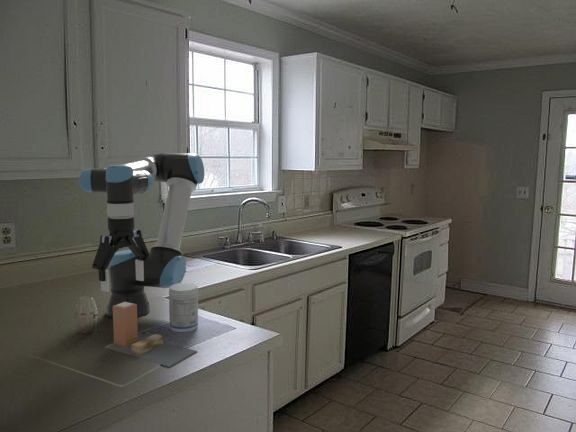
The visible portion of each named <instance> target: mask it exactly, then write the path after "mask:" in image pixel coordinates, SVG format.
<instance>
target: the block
mask: <svg viewBox="0 0 576 432" xmlns="http://www.w3.org/2000/svg"><path fill="white" fill-rule="evenodd" d="M112 324H113V326H112V327H113V329H112V330H113V343H114V344H118V345H121V346H125V347H126V346H128V345H131V344H133V343H135V342H137V341H138V335H139V333H138V332H139V331H138V317H137V304H134V303H129V302H123V303H120V304H117V305H114V306H113V318H112Z"/></svg>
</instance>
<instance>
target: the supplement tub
mask: <svg viewBox="0 0 576 432" xmlns="http://www.w3.org/2000/svg"><path fill="white" fill-rule="evenodd" d="M168 305H169V306H168V309H169V310H168V311H169V312H168V313H169V328H170V331H172V332H175V333H188V332H192V331H195V330H196V329H198V327H199V289H198V285H197V284H195V283H192V282H181V283H177V284H173V285H171V286H170V287H169V288H168Z"/></svg>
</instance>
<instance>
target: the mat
mask: <svg viewBox="0 0 576 432" xmlns="http://www.w3.org/2000/svg"><path fill="white" fill-rule="evenodd" d="M147 337H148V336H147ZM147 337H146V336H143V335H139V334H138V341H141V340H143V339H145V338H147ZM138 341H137V342H138ZM135 343H136V342H135ZM133 344H134V343H133ZM131 345H132V344H131ZM131 345H128V346H126V347H125V346H121V345H118V344H114V342H113V343H109V344H108V345H105V346H104V348H105V349H108V350H112V351H115V352H117V353H123V354H126V355H129V356H132V357H136V358H139V359H142V360H145V361H149V362H152V363H156V364H159V365H160V366H162V367H165V368H169V369H170V368H171V367H174V366H175V365H177V364H179V363H181V362H182V361H184V360H185V359H188V358H189V357H191V356H193V355H195V354H196V353H198V350H195V349H191V348H188V347H183V346H180V345H176V344H173V343H168V342H164V341H163V344H161V345H159V346H157V347H155V348H153V349H151V350H149V351H147V352H145V353H143V354H141V355H136V354H132V353H131Z"/></svg>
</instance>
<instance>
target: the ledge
mask: <svg viewBox="0 0 576 432" xmlns="http://www.w3.org/2000/svg"><path fill="white" fill-rule="evenodd" d="M163 342H164V336H163V335H161V334H158V333H154V334H151V335H150V336H147V338H145V339H143V340H141V341H138V342H136V343H134V344H132V345H131V353H132V354H136V355H141V354H143V353H145V352H147V351H149V350H151V349H153V348H155V347H157V346H159V345H161V344H163Z"/></svg>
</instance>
